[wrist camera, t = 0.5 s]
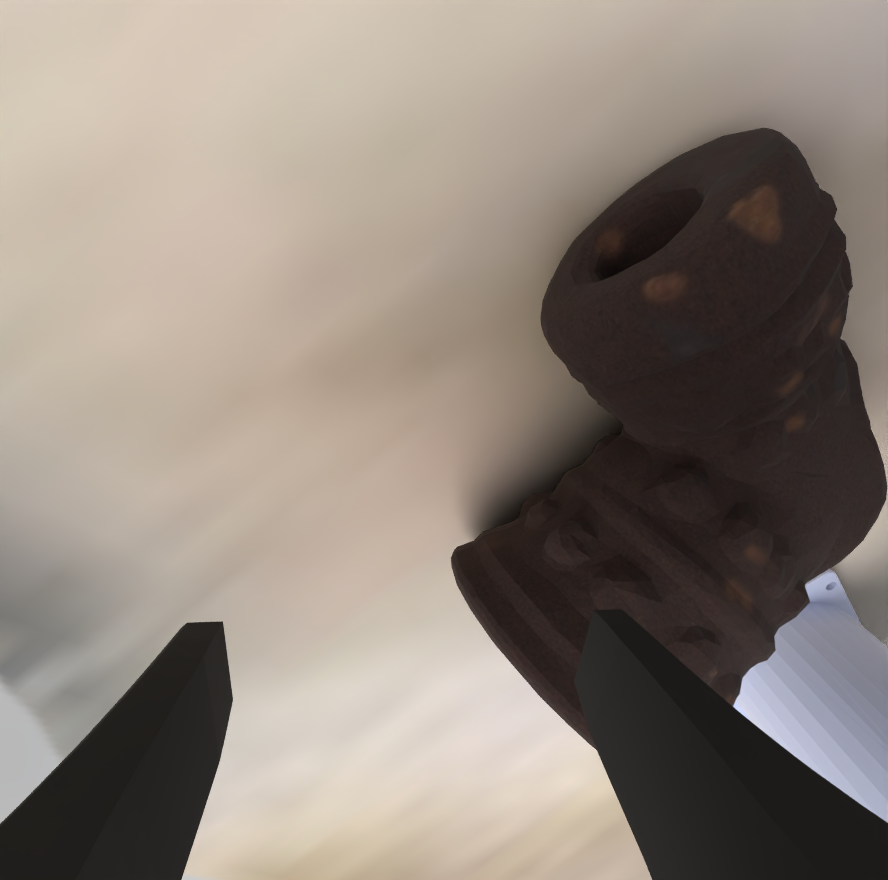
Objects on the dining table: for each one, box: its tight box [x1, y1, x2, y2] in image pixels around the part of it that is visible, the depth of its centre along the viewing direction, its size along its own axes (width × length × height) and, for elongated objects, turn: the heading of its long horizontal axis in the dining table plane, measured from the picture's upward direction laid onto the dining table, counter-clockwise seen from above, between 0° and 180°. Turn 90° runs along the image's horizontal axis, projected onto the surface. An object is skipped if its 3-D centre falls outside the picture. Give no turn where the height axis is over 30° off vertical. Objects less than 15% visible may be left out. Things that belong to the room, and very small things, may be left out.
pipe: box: [451, 128, 887, 750], centre depth 16 cm, size 10×15×15 cm
